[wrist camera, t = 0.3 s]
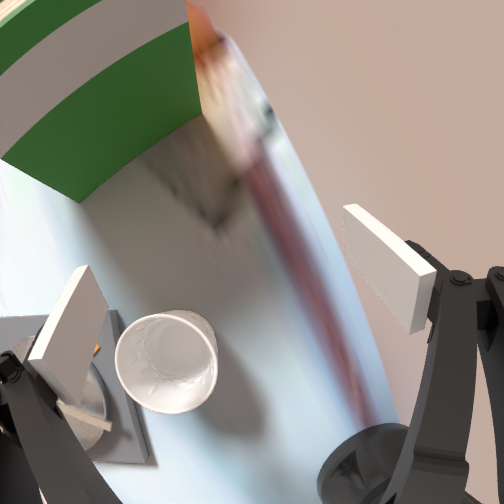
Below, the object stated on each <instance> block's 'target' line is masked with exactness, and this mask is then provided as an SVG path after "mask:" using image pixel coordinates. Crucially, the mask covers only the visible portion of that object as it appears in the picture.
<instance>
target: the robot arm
mask: <svg viewBox="0 0 504 504" xmlns="http://www.w3.org/2000/svg"><path fill="white" fill-rule="evenodd" d="M343 228H344V254H345V255H346V256H347V258H348V259H349V260H350V261H351V262H352V264H353V265H354V266H355V267H356V269H357V270H358V271H359V272H360V273H361V275H363V277H364V278H365V279H366V280H367V282H368V283H369V284H370V286H371V287H372V288H373V289H374V291H375V292H376V293H377V294H378V296H379V297H380V298H381V299H382V300H383V302H384V303H385V305H386V306H387V307H388V309H389V310H390V311H391V312H392V314H393V315H394V316H395V318H396V319H397V320H398V322H399V323H400V324H401V325H402V327H403V328H404V329H405V331H406V332H407V333H408V335H410V334H413V333H415V332H418V331H420V330H423V329H424V328H425V324H426V320H427V317H428V319H429V320H430V321H431V322H432V327H431V331H430V335H429V338H428V341H427V343H428V350H427V355H426V361H425V366H424V371H423V376H422V380H421V384H420V389H419V393H418V397H417V401H416V405H415V408H414V412H413V416H412V419H411V423H410V426H409V427H407V426H405V425H402V424H397V423H387V424H380V425H376V426H373V427H370V428H367V429H365V430H363V431H361V432H359V433H357V434H355V435H354V436H352V437H350V438H349V439H347V440H346V441H345V442H343V443H342V444H341V445H340V446H339V447H338V448H337V449H335V450H334V452H333V453H332V454H331V455H330V456H329V457H328V459H327V460H326V461H325V463H324V464H323V466H322V468H321V470H320V473H319V475H318V479H317V490H318V494H319V496H320V498H321V501H322V503H323V504H482V503H480V502H479V501H477V500H476V499H475V498H474V497H472V496H471V495H470V494H468V493H467V492H466V491H465V487H466V482H467V479H468V473H469V463H468V462H467V461H466V460H465V453H466V448H467V443H468V438H469V432H470V426H471V419H472V411H473V403H474V393H475V381H476V366H477V344H478V348H479V351H480V355H481V360H482V364H483V368H484V373H485V377H486V382H487V387H488V393H489V398H490V404H491V410H492V418H493V425H494V434H495V443H496V457H497V477H498V478H497V479H498V496H499V502H500V504H504V267H499V266H495V267H492V268H490V269H489V271H488V275H487V278H485V279H473V278H472V277H471V275H469V274H467V273H466V272H463V271H460V270H452V271H450V270H448V269H447V268H446V267H445V266H444V265H443V264H441V263H440V262H439V261H438V260H437V259H436V258H434V257H433V256H431V254H430V253H428V252H426V250H425V249H424V248H422V247H421V246H420V245H419V244H417V243H414V242H412V241H410V240H408V241H402V240H401V239H400V238H399V237H398V236H396V235H395V234H394V233H392V231H390V230H389V229H388V228H386V227H385V226H384V225H383V224H382V223H380V222H379V221H378V220H377V219H375V218H374V217H373V216H371V215H370V214H369V213H368V212H366V211H365V210H364V209H362V208H361V207H360V206H359V205H357V204H351V205H346V206H343ZM108 307H109V306H108V305H107V303H106V301H105V299H104V297H103V295H102V292H101V290H100V288H99V286H98V284H97V282H96V280H95V278H94V276H93V273H92V271H91V269H90V267H89V265H84V266H80V267H77V268H76V269H75V271H74V272H73V274H72V276H71V277H70V279H69V281H68V283H67V284H66V286H65V288H64V290H63V291H62V293H61V295H60V297H59V298H58V300H57V302H56V304H55V306H54V308H53V309H52V311H51V313H50V315H49V317H48V319H47V321H46V323H44V324H43V325H42V327H41V328H40V329H39V330H38V332H37V334H36V336H35V338H34V339H35V340H33V342H32V344H31V346H30V348H29V350H28V352H27V354H26V357H25V359H24V361H23V363H21V362H20V361H19V359H18V358H17V357H16V355H15V354H14V353H13V351H10V350H8V351H4V352H3V353H1V354H0V381H1V383H2V384H0V426H1V427H2V428H3V433H2V431H1V429H0V504H43V502H42V499H41V495H40V491H39V488H40V490H41V492H42V494H43V496H44V498H45V500H46V502H47V504H123V503H122V502H121V501H120V500H119V498H118V497H117V496H116V495H115V493H114V492H113V491H112V489H111V488H110V487H109V485H108V484H107V483H106V481H105V480H104V479H103V477H102V476H101V474H100V473H99V471H98V470H97V469H96V467H95V466H94V464H93V463H92V461H91V460H90V458H89V457H88V455H87V454H86V452H85V450H84V449H83V447H82V446H81V444H80V442H79V441H78V439H77V437H76V436H75V434H74V432H73V431H72V429H71V427H70V425H69V424H68V422H67V420H66V418H65V416H64V415H63V413H62V411H61V409H60V408H59V407H58V406H57V405H56V401H57V398H59V399H60V400H61V401H62V402H63V403H64V404H65V405H80V402H81V398H82V394H83V390H84V386H85V382H86V379H87V375H88V371H89V368H90V364H91V361H92V357H93V354H94V350H95V347H96V344H97V341H98V337H99V334H100V331H101V328H102V325H103V322H104V319H105V316H106V313H107V310H108ZM38 485H39V486H38Z"/></svg>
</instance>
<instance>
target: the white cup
mask: <svg viewBox="0 0 504 504" xmlns="http://www.w3.org/2000/svg"><path fill="white" fill-rule="evenodd" d="M115 367H116V372H117V375H118V378H119V380H120V382H121V384H122V386H123V388H124V389H125V390H126V392H127V393H128V394H129V395H130V396H131V397H132V398H133V399H134V400H135V401H136V402H137V403H139V404H140V405H142V406H143V407H145V408H147V409H149V410H152V411H154V412H158V413H162V414H181V413H186V412H189V411H191V410H194V409H195V408H197V407H199V406H200V405H201V404H203V403H204V402H205V401H206V400H207V399H208V397H209V396H210V395H211V393H212V392H213V390H214V387H215V385H216V381H217V377H218V349H217V342H216V338H215V333H214V330H213V329H212V327H211V326H210V324H209V323H208V321H207V320H206V319H205V318H203V317H202V316H200V315H198V314H197V313H195V312H193V311H186V310H172V311H165V312H161V313H157V314H153V315H149V316H145V317H143V318H140V319H138V320H136V321H135V322H133V323H132V324H131V325H130V326H128V327H127V328H126V330H125V331H124V332H123V333H122V335H121V337H120V339H119V341H118V343H117V346H116V351H115Z"/></svg>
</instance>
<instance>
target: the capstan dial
mask: <svg viewBox="0 0 504 504" xmlns="http://www.w3.org/2000/svg"><path fill="white" fill-rule="evenodd" d="M35 336H36V335H34V336H31V337H27V338H24V339H21V340H20V341H18V342H16V343H15V344H14V345H13V346H12V348H11V349H10V351H13V353H14V354H15V355H16V357H17V358H18V359H19V361H20V362H21V363H23V361H24V359H25V357H26V354H27V352H28V350H29V348H30V346H31V344H32V342H33V340H35V339H34V338H35ZM0 384H2V383H1V381H0ZM56 405H57V406H58V407H59V408H60V409H61V411H62V413H63V415H64V416H65V418H66V420H67V422H68V424H69V425H70V427H71V429H72V431H73V432H74V434H75V436H76V437H77V439H78V441H79V442H80V444H81V446H82V447H83V449H84V450H85V451H86V450H88V449H90V448H91V447H92V446H94V445H95V443H96V442H97V441H98V440H99V439H100V437H101V436H102V435H103V434H104V432H105V430H107V431H111V430H112V422H111V421H109V417H110V406H109V399H108V395H107V391H106V389H105V386H104V383H103V381H102V379H101V377H100V375H99V373H98V372H97V370H96V369H95V367H94V366H93V364H92V363H91V364H90V368H89V371H88V375H87V379H86V382H85V386H84V390H83V394H82V398H81V402H80V405H65V404H64V403H63V402H62V401H61V400H60V399H59V398H57V401H56Z"/></svg>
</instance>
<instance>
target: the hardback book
mask: <svg viewBox="0 0 504 504" xmlns="http://www.w3.org/2000/svg"><path fill="white" fill-rule="evenodd" d="M201 112H202V111H201V104H200V98H199V92H198V85H197V78H196V72H195V65H194V58H193V51H192V44H191V37H190V30H189V22H188V15H187V7H186V0H0V159H1V160H3V161H5V162H7V163H8V164H10V165H12V166H14V167H15V168H17V169H19V170H21V171H22V172H24V173H26V174H28V175H29V176H31V177H33V178H35V179H36V180H38V181H40V182H42V183H44V184H45V185H47V186H49V187H51V188H53V189H54V190H56V191H58V192H60V193H62V194H63V195H65V196H67V197H69V198H71V199H73V200H74V201H76V202H78V203H80V202H81V201H82V200H84V199H85V198H86V197H87V196H88V195H89V194H90V193H92V192H93V191H94V190H95V189H96V188H98V187H99V186H100V185H101V184H102V183H104V182H105V181H106V180H107V179H109V178H110V177H111V176H112V175H114V174H115V173H116V172H117V171H119V170H120V169H121V168H122V167H124V166H125V165H126V164H128V163H129V162H130V161H132V160H133V159H134V158H136V157H137V156H138V155H140V154H141V153H142V152H144V151H145V150H146V149H148V148H149V147H151V146H152V145H153V144H155V143H156V142H158V141H159V140H160V139H162V138H163V137H165V136H166V135H168V134H169V133H171V132H172V131H174V130H175V129H177V128H178V127H180V126H181V125H183V124H184V123H186V122H187V121H189V120H190V119H192V118H193V117H195V116H197V115H198V114H200V113H201Z"/></svg>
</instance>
